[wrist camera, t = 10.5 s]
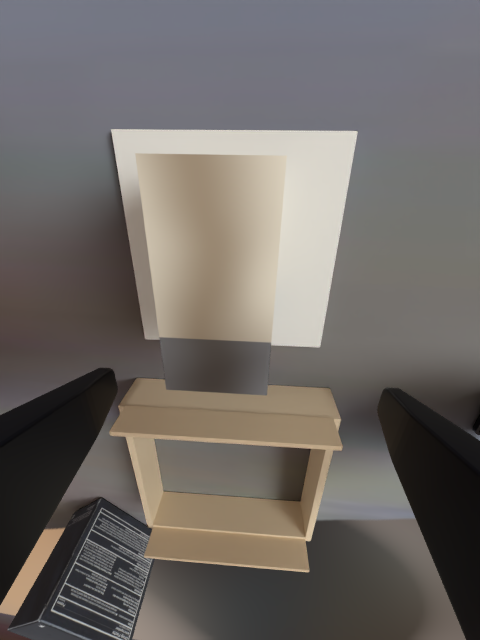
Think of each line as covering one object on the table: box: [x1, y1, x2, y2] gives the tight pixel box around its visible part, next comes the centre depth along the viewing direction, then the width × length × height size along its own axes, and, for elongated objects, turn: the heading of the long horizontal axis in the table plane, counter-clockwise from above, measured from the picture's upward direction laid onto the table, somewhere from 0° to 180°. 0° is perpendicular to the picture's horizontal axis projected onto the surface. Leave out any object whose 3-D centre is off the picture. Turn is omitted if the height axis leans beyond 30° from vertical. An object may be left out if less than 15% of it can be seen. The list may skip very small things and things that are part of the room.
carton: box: [109, 378, 343, 572], centre depth 24 cm, size 17×17×6 cm
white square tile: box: [111, 129, 358, 347], centre depth 18 cm, size 14×14×1 cm
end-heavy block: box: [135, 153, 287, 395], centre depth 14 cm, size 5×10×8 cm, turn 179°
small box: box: [8, 498, 155, 640], centre depth 30 cm, size 11×6×10 cm, turn 40°
